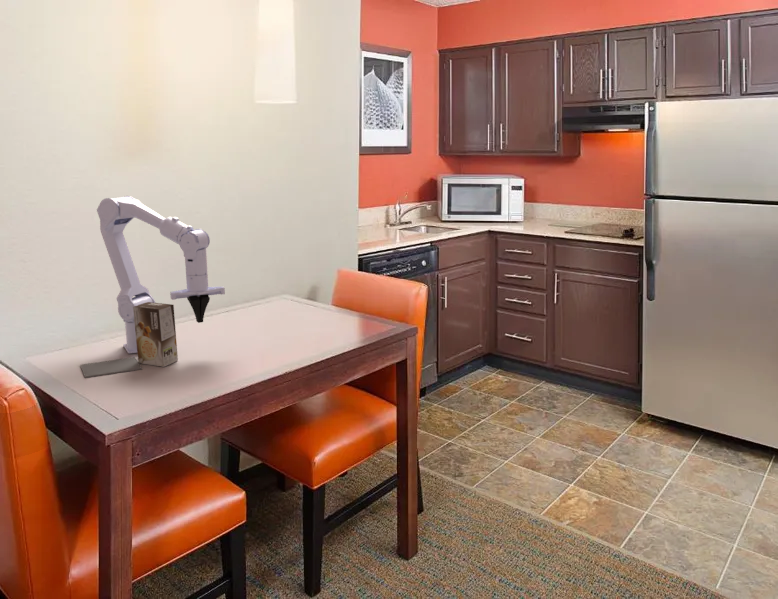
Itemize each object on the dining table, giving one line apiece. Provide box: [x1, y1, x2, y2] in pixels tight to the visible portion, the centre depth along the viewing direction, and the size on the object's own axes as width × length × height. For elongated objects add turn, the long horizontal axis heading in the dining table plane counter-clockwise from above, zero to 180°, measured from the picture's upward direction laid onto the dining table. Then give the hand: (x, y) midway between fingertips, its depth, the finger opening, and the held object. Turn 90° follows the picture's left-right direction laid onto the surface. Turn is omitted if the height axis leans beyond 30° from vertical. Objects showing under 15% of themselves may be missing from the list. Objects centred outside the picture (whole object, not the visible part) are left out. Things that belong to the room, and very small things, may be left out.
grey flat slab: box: [80, 356, 143, 379], centre depth 183 cm, size 11×14×1 cm
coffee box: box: [133, 302, 179, 368], centre depth 186 cm, size 9×6×16 cm
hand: (199, 321), depth 191 cm, fingers closed
